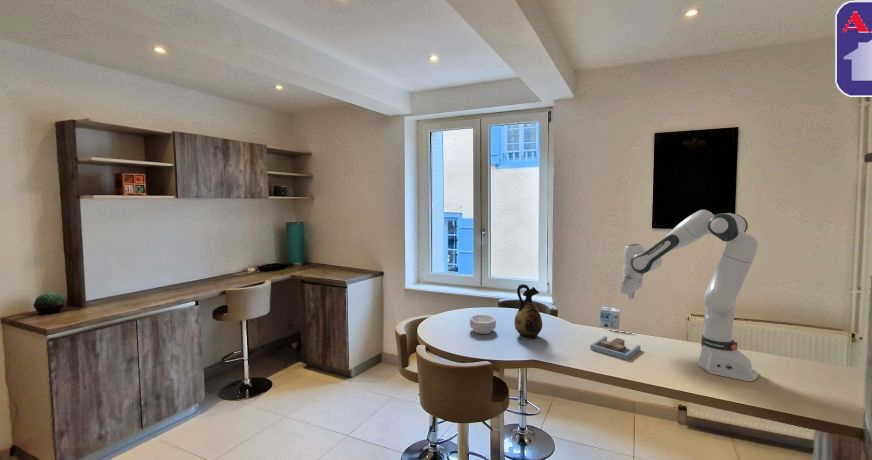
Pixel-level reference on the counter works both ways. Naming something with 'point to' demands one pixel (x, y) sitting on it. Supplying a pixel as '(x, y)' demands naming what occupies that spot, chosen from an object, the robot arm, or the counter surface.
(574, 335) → the counter surface
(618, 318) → the light bulb box
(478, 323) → the white stone bowl
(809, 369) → the counter surface
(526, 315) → the ceramic jug
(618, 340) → the walnut T block
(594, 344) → the docking bay
